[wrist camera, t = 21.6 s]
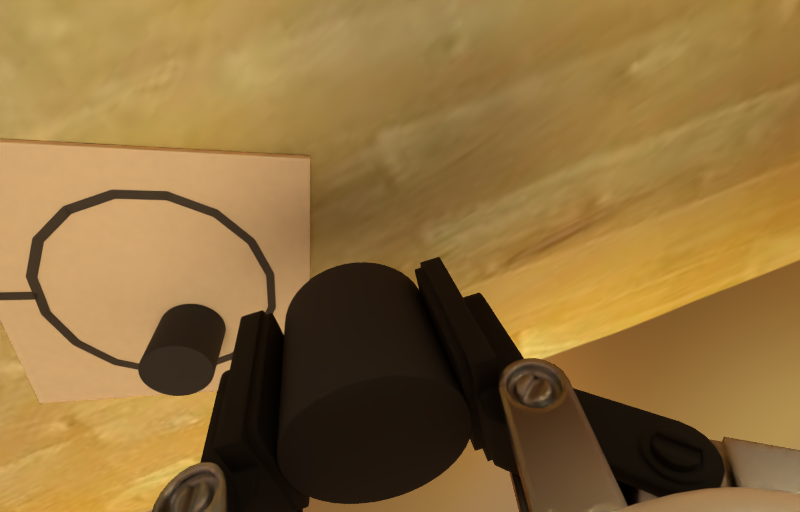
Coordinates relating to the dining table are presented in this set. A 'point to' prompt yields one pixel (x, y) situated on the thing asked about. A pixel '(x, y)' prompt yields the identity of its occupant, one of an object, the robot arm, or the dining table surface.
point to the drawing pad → (139, 253)
